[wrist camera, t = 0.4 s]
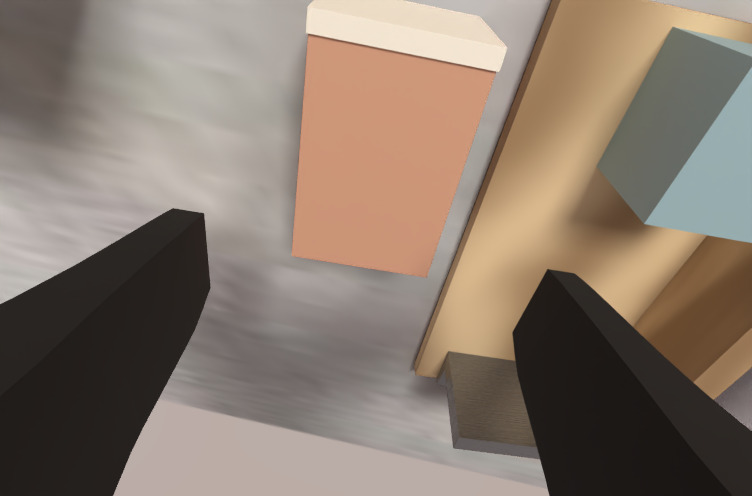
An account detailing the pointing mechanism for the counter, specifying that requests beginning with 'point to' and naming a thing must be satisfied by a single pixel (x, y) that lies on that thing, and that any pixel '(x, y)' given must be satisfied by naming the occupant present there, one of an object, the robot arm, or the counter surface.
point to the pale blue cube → (689, 139)
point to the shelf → (592, 208)
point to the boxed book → (387, 128)
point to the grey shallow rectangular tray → (486, 405)
